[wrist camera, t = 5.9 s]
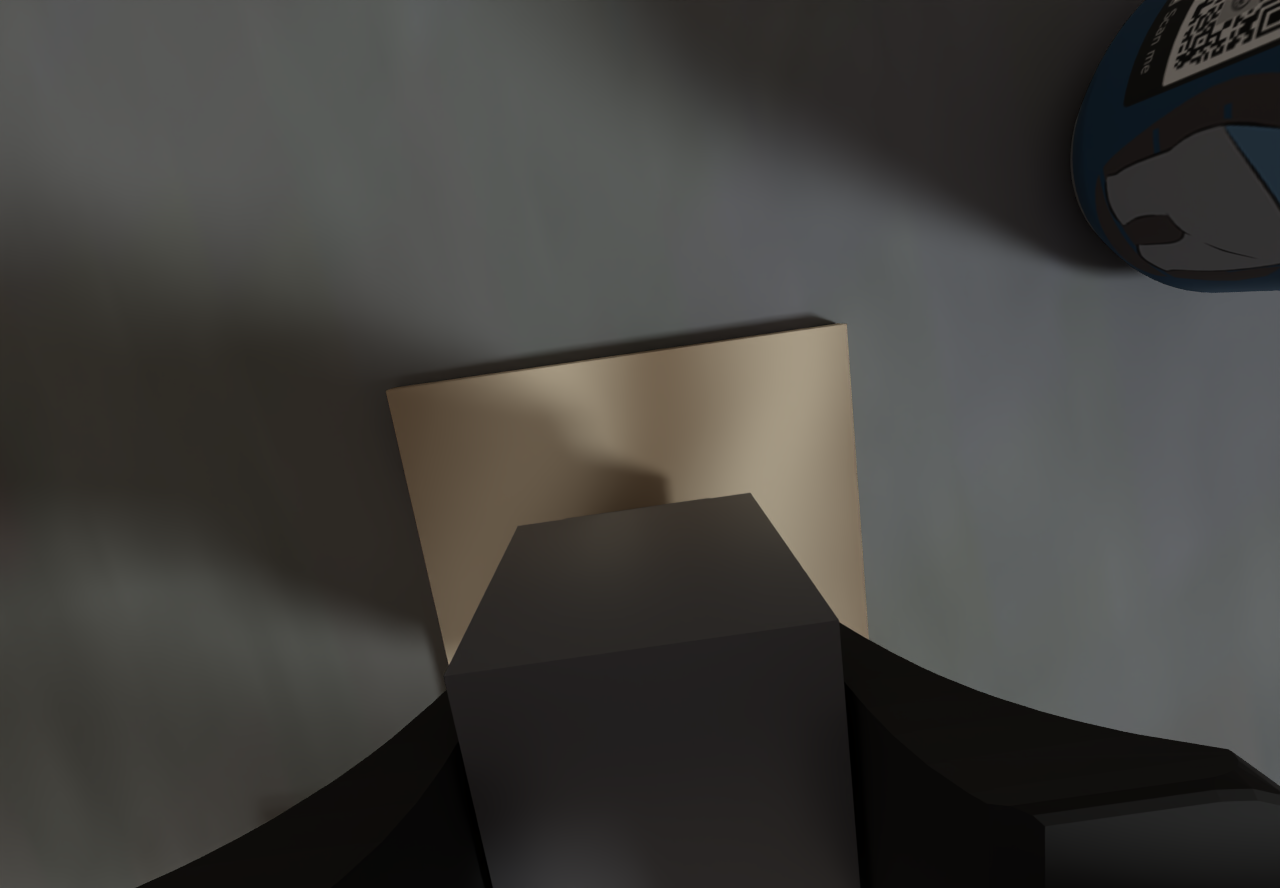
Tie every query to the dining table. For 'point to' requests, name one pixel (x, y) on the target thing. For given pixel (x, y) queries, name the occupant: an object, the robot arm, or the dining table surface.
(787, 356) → the pad
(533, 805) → the block
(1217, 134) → the soda can
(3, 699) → the dining table surface
